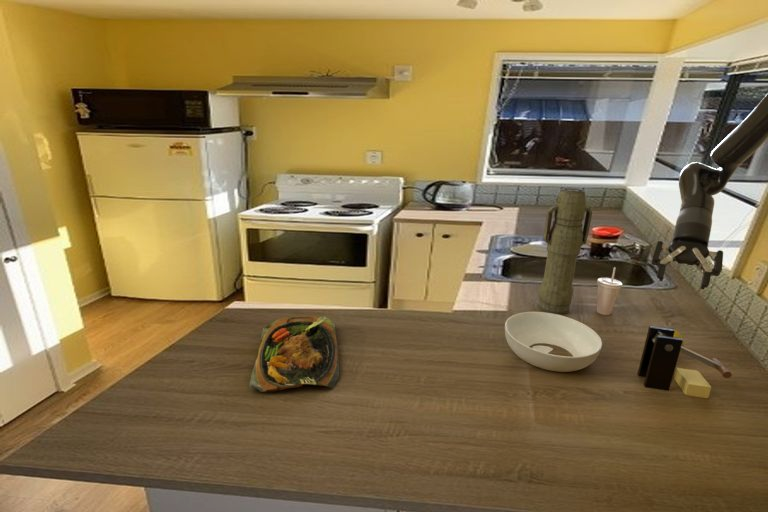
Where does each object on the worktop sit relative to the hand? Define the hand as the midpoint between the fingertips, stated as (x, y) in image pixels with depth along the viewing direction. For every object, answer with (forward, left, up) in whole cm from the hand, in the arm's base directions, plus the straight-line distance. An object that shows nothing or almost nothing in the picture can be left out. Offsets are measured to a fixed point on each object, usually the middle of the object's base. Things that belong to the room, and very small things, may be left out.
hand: (681, 283), depth 104 cm
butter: (+4, +24, -16) cm, 29 cm away
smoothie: (+12, -13, -16) cm, 24 cm away
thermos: (+26, -12, -16) cm, 33 cm away
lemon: (+4, +11, -16) cm, 19 cm away
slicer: (+11, +24, -16) cm, 31 cm away
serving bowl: (+31, +18, -16) cm, 39 cm away
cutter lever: (+6, +24, -8) cm, 26 cm away
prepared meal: (+87, +33, -16) cm, 94 cm away
